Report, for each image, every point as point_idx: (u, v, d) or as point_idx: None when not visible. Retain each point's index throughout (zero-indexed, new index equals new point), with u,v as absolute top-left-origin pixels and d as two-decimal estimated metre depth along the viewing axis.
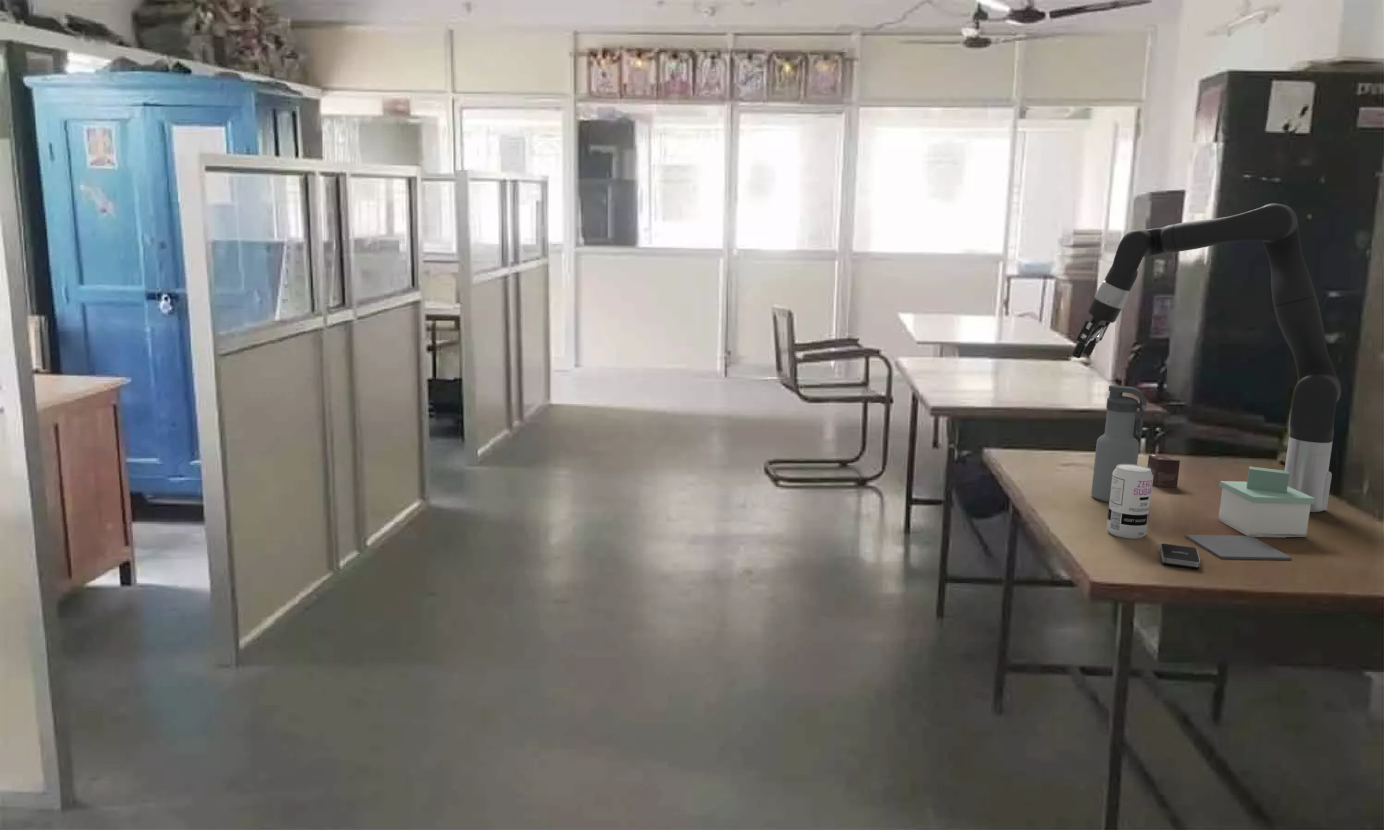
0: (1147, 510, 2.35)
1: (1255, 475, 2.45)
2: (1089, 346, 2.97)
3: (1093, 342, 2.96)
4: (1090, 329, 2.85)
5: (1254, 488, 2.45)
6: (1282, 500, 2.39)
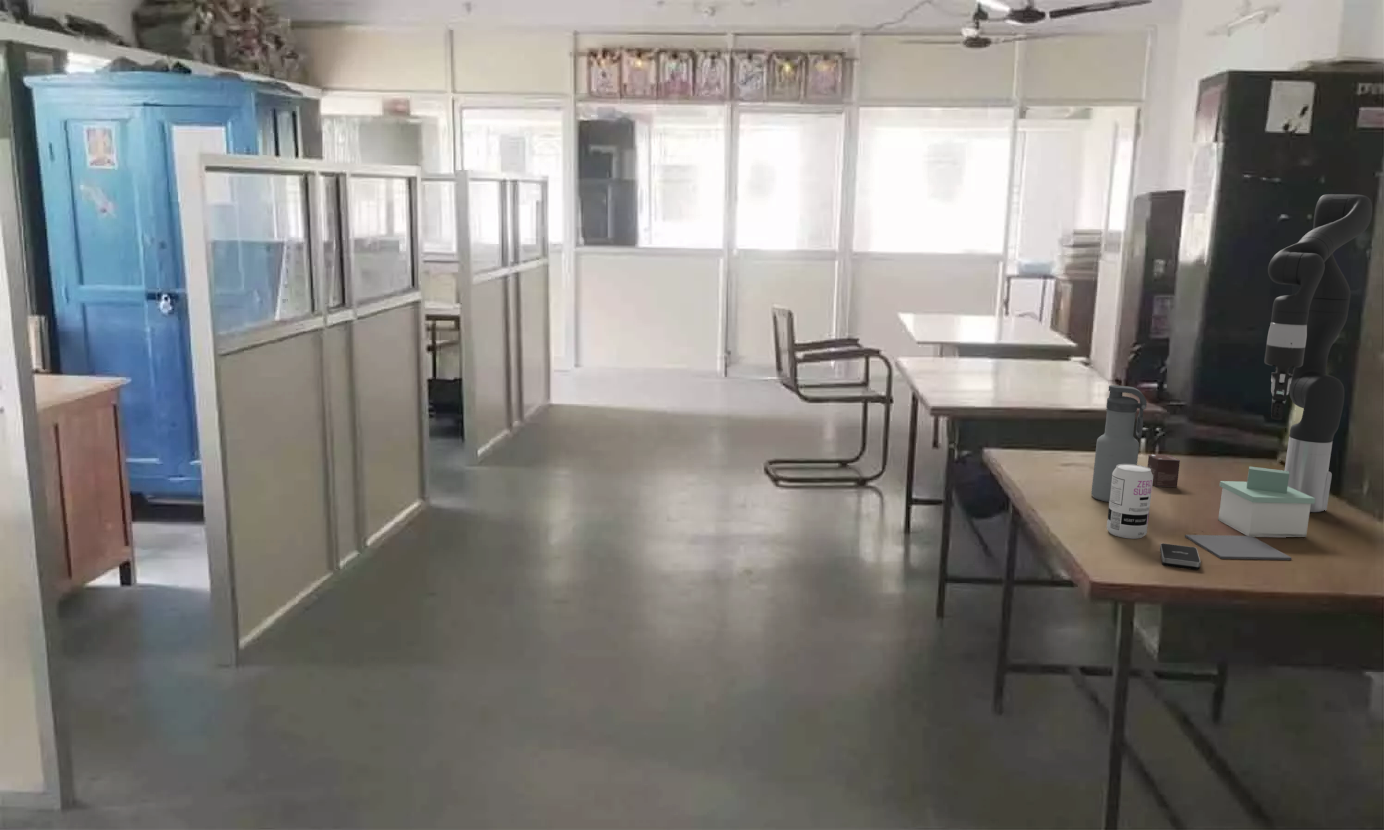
0: (1147, 510, 2.35)
1: (1255, 475, 2.45)
2: None
3: None
4: (1286, 381, 2.34)
5: (1254, 488, 2.45)
6: (1282, 500, 2.39)
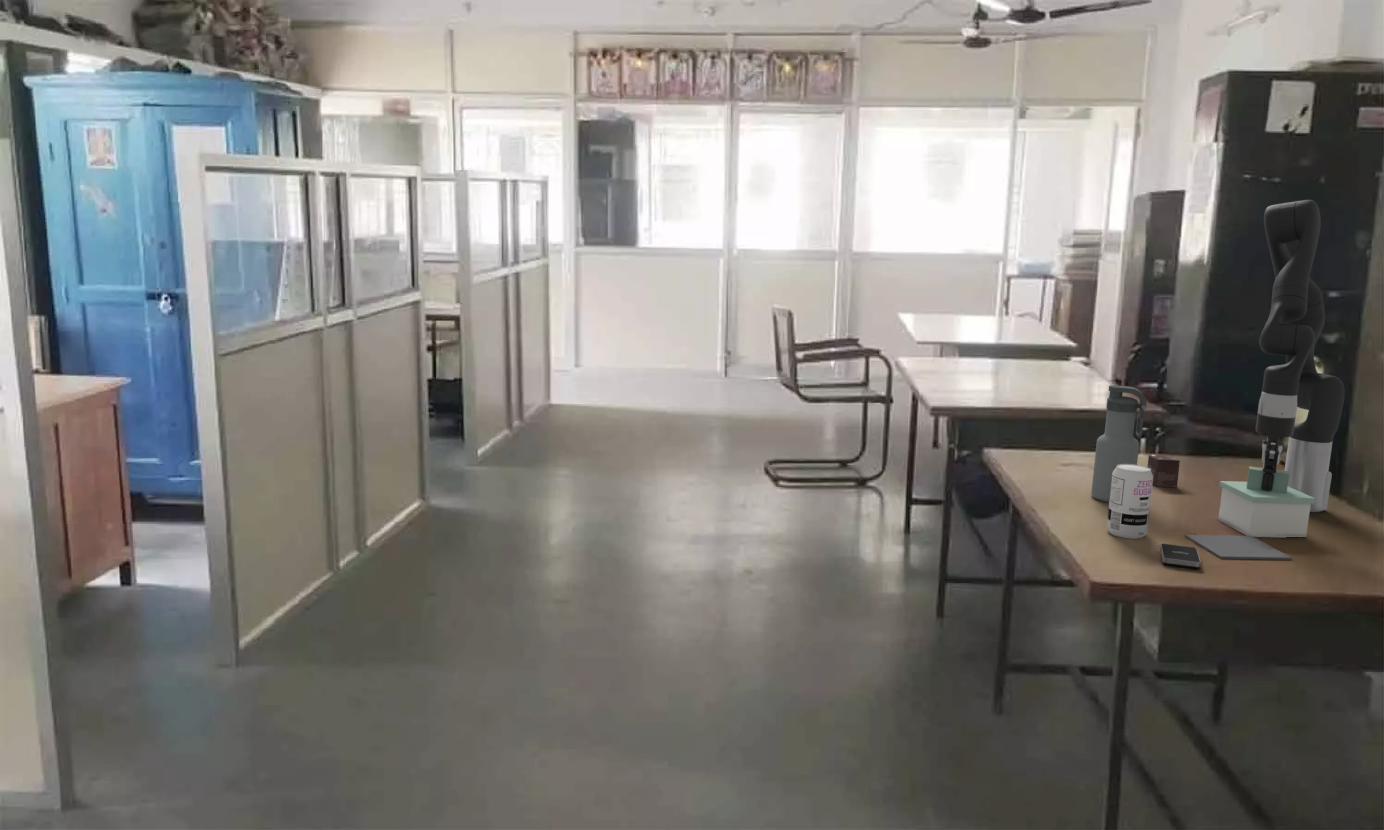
0: (1147, 510, 2.35)
1: (1255, 475, 2.45)
2: None
3: None
4: (1275, 458, 2.38)
5: (1254, 488, 2.45)
6: (1282, 500, 2.39)
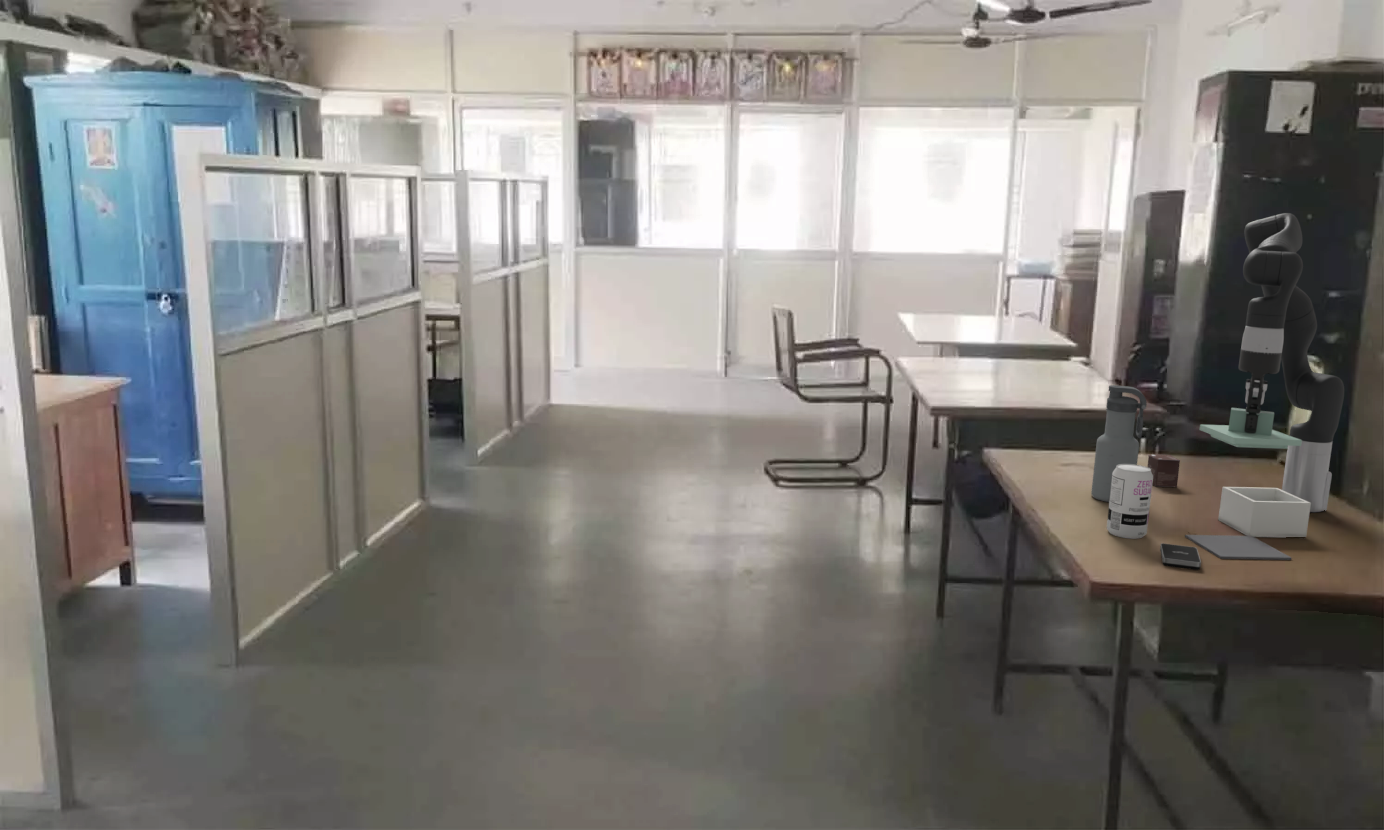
0: (1147, 510, 2.35)
1: (1237, 416, 2.27)
2: None
3: None
4: (1259, 396, 2.20)
5: (1236, 430, 2.27)
6: (1266, 442, 2.21)
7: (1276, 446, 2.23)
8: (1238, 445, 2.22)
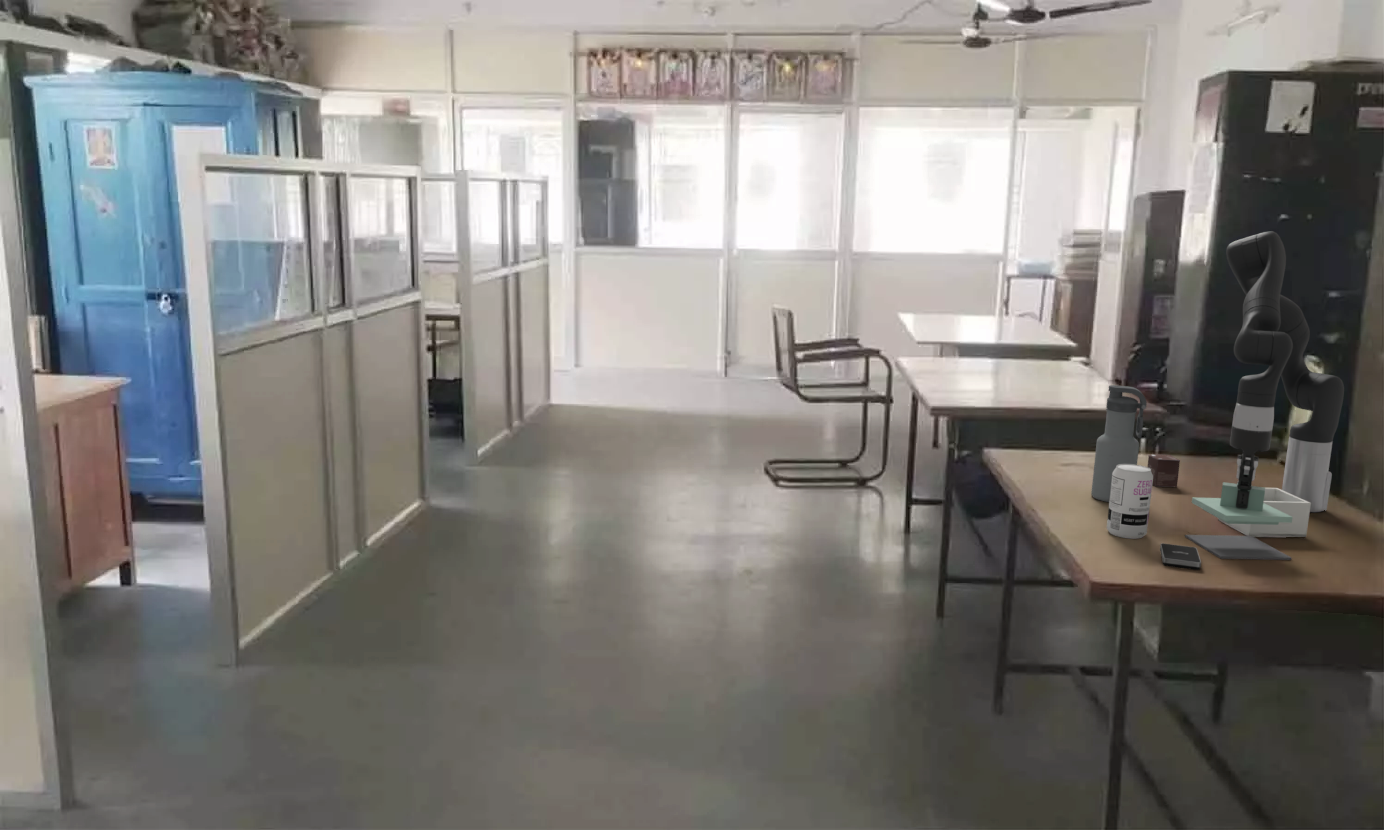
0: (1147, 510, 2.35)
1: (1229, 492, 2.29)
2: None
3: None
4: (1250, 474, 2.23)
5: (1228, 505, 2.30)
6: (1257, 519, 2.23)
7: (1267, 522, 2.25)
8: (1230, 522, 2.25)
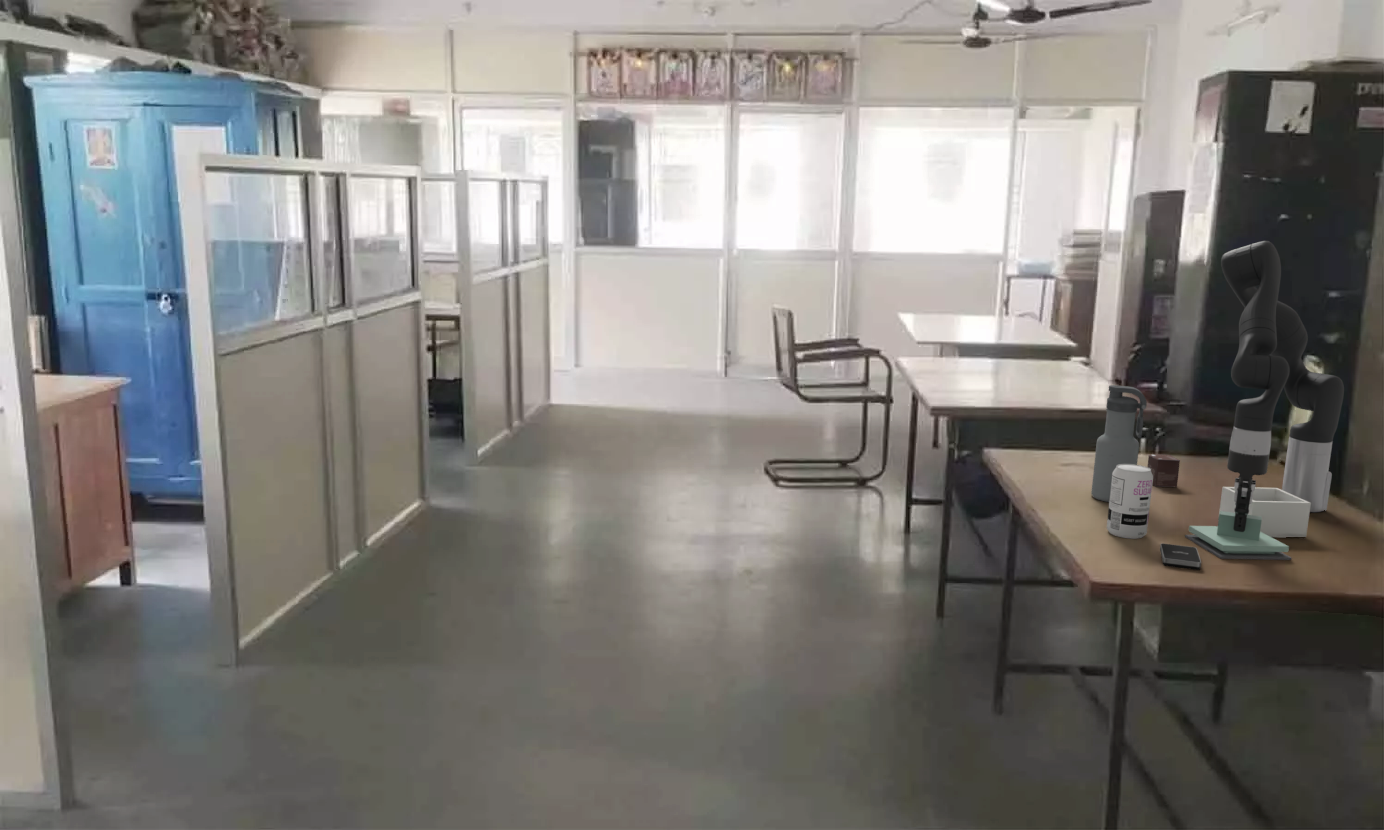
0: (1147, 510, 2.35)
1: (1226, 521, 2.31)
2: None
3: (1243, 508, 2.32)
4: (1248, 496, 2.23)
5: (1225, 534, 2.31)
6: (1254, 548, 2.25)
7: (1264, 551, 2.27)
8: (1227, 551, 2.26)
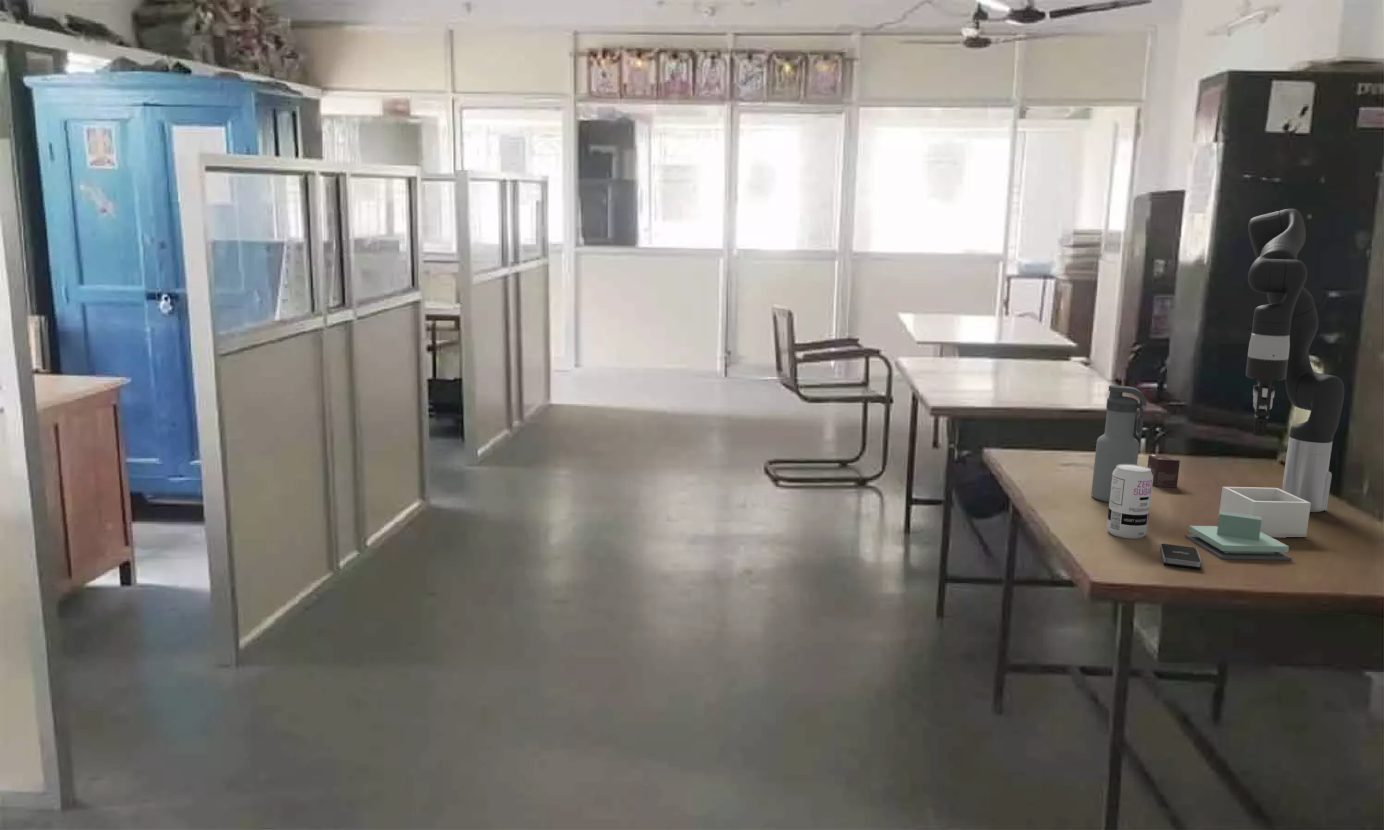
0: (1147, 510, 2.35)
1: (1226, 521, 2.31)
2: None
3: (1262, 411, 2.32)
4: (1268, 396, 2.22)
5: (1225, 534, 2.31)
6: (1254, 548, 2.25)
7: (1264, 551, 2.27)
8: (1227, 551, 2.26)
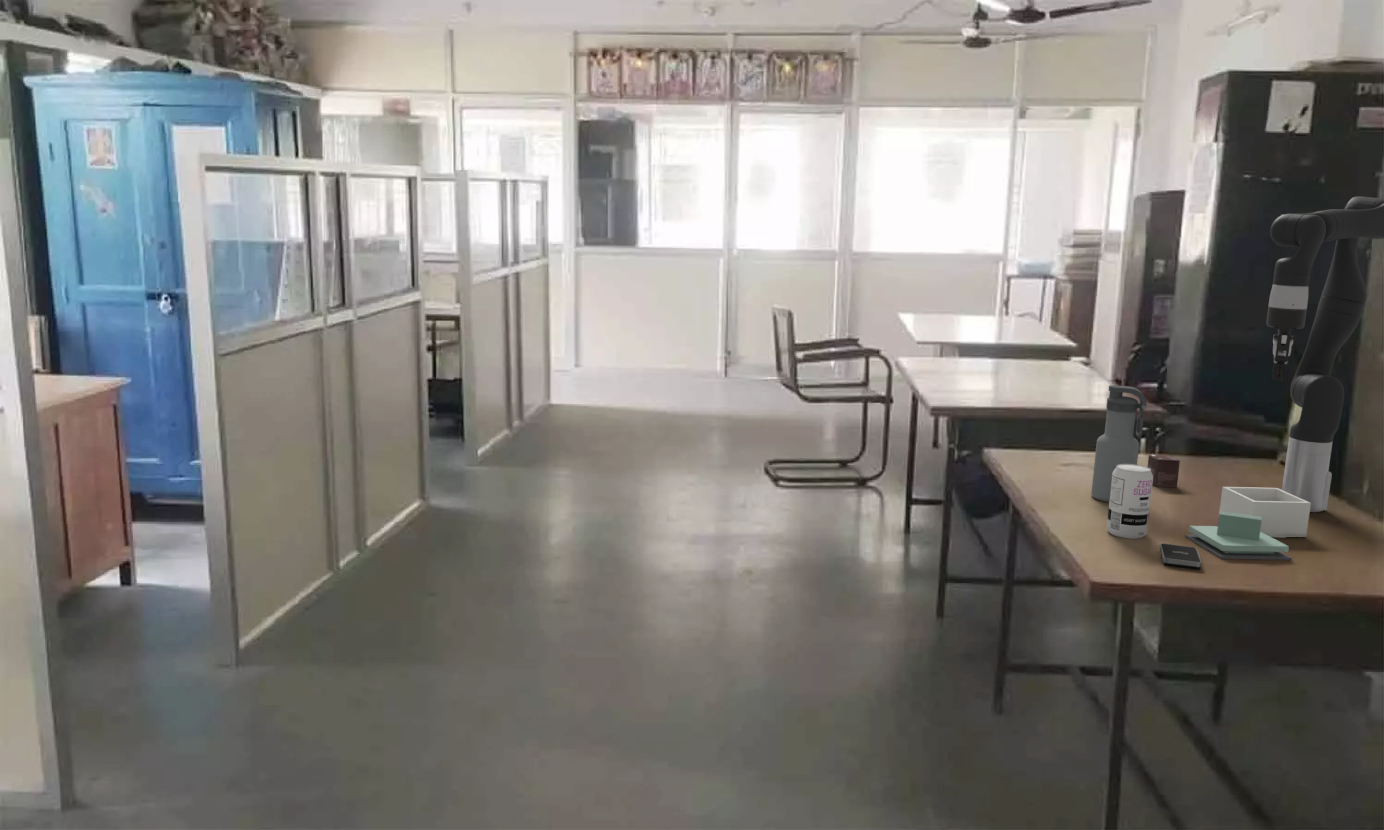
0: (1147, 510, 2.35)
1: (1226, 521, 2.31)
2: None
3: None
4: (1287, 342, 2.36)
5: (1225, 534, 2.31)
6: (1254, 548, 2.25)
7: (1264, 551, 2.27)
8: (1227, 551, 2.26)
